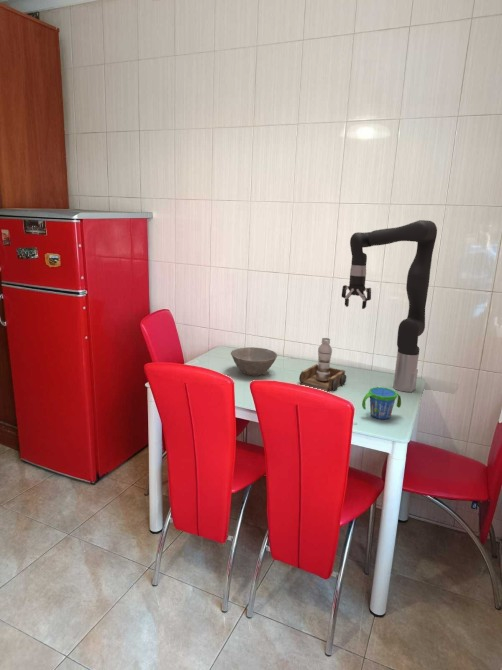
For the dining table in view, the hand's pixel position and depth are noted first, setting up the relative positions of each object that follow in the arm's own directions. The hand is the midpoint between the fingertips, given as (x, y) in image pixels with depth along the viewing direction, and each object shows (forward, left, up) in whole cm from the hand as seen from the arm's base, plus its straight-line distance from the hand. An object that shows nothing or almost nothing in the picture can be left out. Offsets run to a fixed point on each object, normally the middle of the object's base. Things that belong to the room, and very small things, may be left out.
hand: (355, 307), depth 228 cm
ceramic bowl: (+35, +36, -33) cm, 60 cm away
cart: (+2, +29, -33) cm, 44 cm away
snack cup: (-32, +46, -33) cm, 65 cm away
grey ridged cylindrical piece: (+2, +27, -31) cm, 41 cm away
